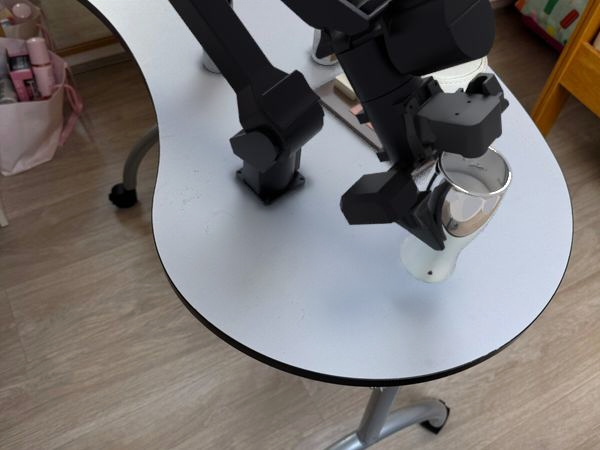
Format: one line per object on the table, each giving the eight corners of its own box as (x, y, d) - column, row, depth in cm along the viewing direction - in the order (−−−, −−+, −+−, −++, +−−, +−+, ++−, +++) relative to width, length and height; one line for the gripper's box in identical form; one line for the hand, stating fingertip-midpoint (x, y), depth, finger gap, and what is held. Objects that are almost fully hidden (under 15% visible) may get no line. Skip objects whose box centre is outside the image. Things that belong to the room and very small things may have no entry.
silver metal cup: (395, 227, 65) (436, 131, 53) (457, 238, 65) (511, 144, 53) (393, 281, 61) (436, 189, 49) (459, 292, 61) (518, 204, 49)
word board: (412, 179, 75) (415, 168, 74) (310, 94, 84) (311, 82, 82) (466, 142, 80) (471, 131, 78) (365, 65, 88) (367, 53, 87)
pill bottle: (337, 68, 87) (344, 23, 81) (308, 63, 88) (313, 17, 81) (342, 50, 90) (349, 5, 84) (314, 45, 90) (319, 0, 84)
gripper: (396, 125, 40) (483, 297, 46) (518, 12, 50) (578, 166, 55) (299, 146, 49) (381, 288, 55) (417, 47, 58) (478, 177, 64)
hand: (458, 227), depth 57 cm, fingers closed on silver metal cup, 6 cm apart
